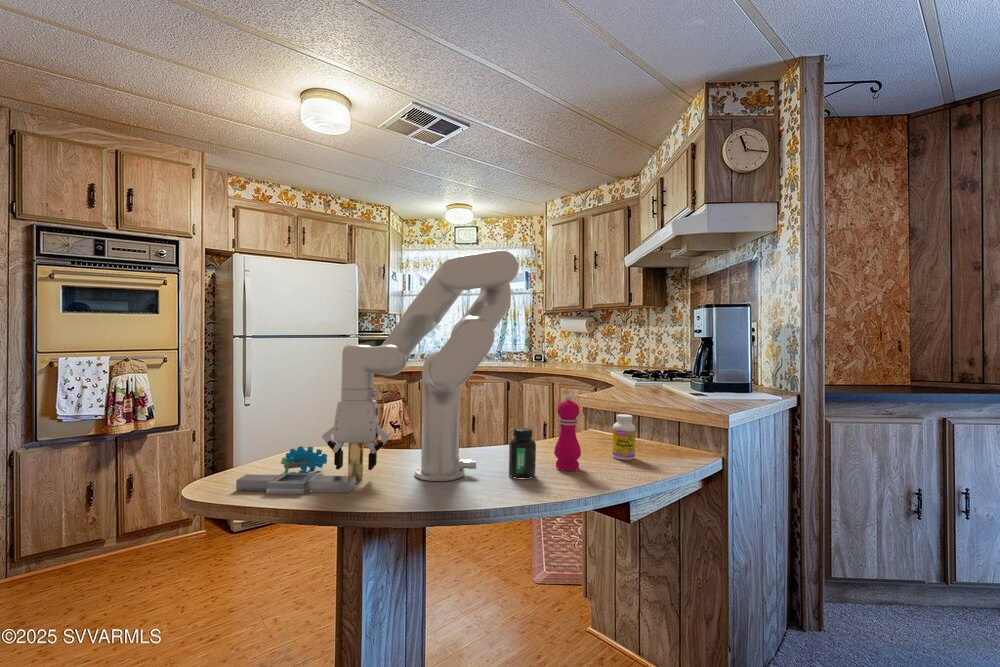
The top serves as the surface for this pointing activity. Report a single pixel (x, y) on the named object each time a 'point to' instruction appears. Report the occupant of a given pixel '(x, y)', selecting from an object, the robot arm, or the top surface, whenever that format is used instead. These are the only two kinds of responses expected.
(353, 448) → the gold square peg
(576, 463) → the pepper mill
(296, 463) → the gear
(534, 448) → the supplement bottle
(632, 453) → the supplement bottle
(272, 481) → the grey base plate
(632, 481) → the top surface
